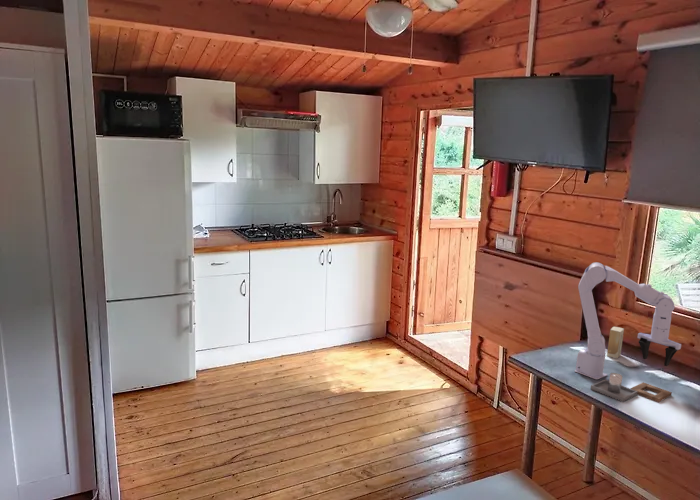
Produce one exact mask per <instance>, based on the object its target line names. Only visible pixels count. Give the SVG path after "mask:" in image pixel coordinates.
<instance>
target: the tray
mask: <svg viewBox="0 0 700 500" xmlns="http://www.w3.org/2000/svg"><path fill="white" fill-rule="evenodd" d="M608 385H609V380H608V379H603V380H601V381H597V382H595V383H593V384H591V385H590V390H591V389H592V390H591V391H594V390H595V391H594V392H596V391H597V393H599V392H600V393H599V394H601V393H602V394H601V395H604V394H605V395H604V396H606V395H607V397H609V396H610V397H609V398H611V397H612V399H614V398H615V399H614V400H617V399H618V400H617V401H619V400H620V402H621V403H624V402H627V401H628V400H630V399H633V398H634V397H637V396H638V394H637V391H635V390H632V389H630V388H631V387H630V388H629V387H627V386H624V385H622V384H621V389H620V393H613V392H610V391H608Z"/></svg>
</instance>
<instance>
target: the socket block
mask: <svg viewBox="0 0 700 500" xmlns="http://www.w3.org/2000/svg"><path fill="white" fill-rule="evenodd" d="M630 389H632V390H635V391H637V396H640V397H644V398H647V399H649V400H651V401H654V402H657V403H660V402H662V401H664V400H665V399H667V398H669V397H671V396H672V393H673V392H671V391H670V390H666V389H664V388H660V387H658V386H654V385H652V384H650V383H646V382H644V381H643V382H641V383H638V384H637V385H635V386H632V387H630ZM645 390H648V391H651V392H654V393H656V394H654V393H651V392H648V391H645Z"/></svg>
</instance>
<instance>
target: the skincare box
mask: <svg viewBox="0 0 700 500" xmlns="http://www.w3.org/2000/svg"><path fill="white" fill-rule="evenodd" d="M624 331H625V328H622V327H619V326H612V327H611V328H610V330H609V335H608V337H609V338H608V345H607V350H606V356H607V357H609V358H614V359H618V358H619V357H620V356H621V354H622V348H623V347H622V346H623V339H624V333H625V332H624Z"/></svg>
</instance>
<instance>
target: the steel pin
mask: <svg viewBox="0 0 700 500" xmlns="http://www.w3.org/2000/svg"><path fill="white" fill-rule="evenodd" d="M608 381H609V385H608V391H610V392H613V393H620V389H621V385H622V382H623V375H622V374H621V373H617V372H611V373H610V374H609V380H608Z"/></svg>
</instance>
